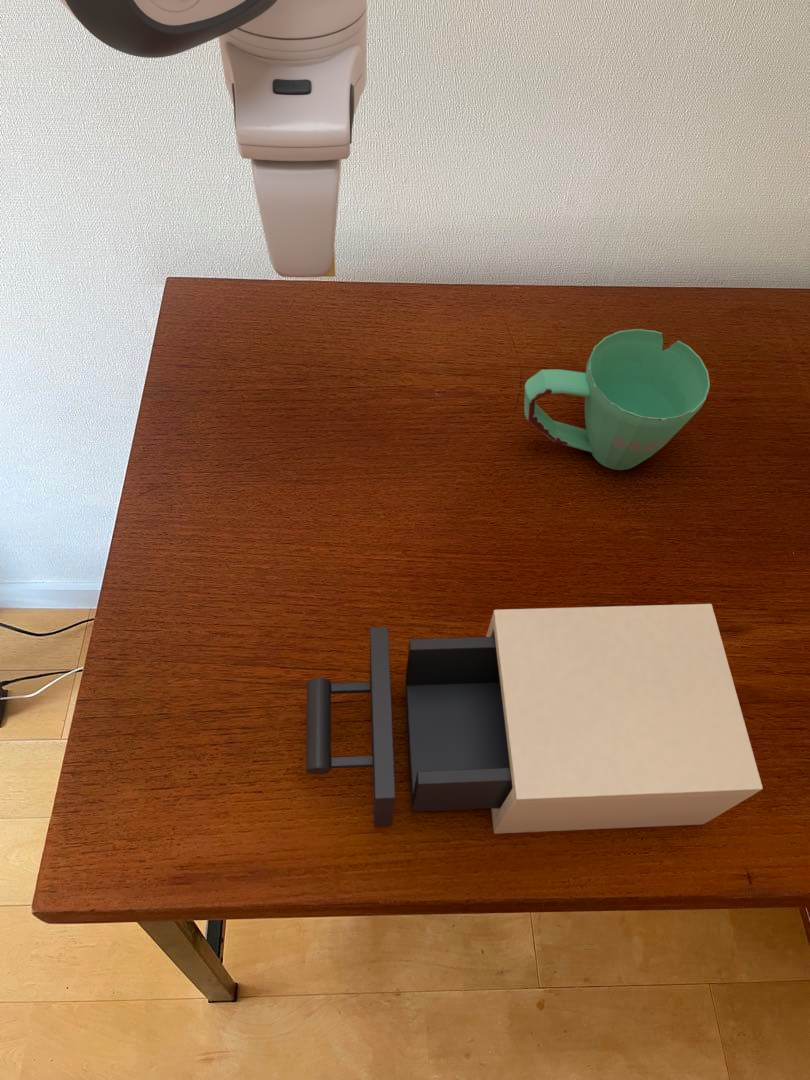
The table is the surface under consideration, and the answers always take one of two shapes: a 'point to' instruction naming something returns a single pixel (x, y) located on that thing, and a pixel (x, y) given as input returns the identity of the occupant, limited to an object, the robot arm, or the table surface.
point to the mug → (624, 397)
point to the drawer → (425, 726)
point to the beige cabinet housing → (618, 718)
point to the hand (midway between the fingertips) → (307, 242)
